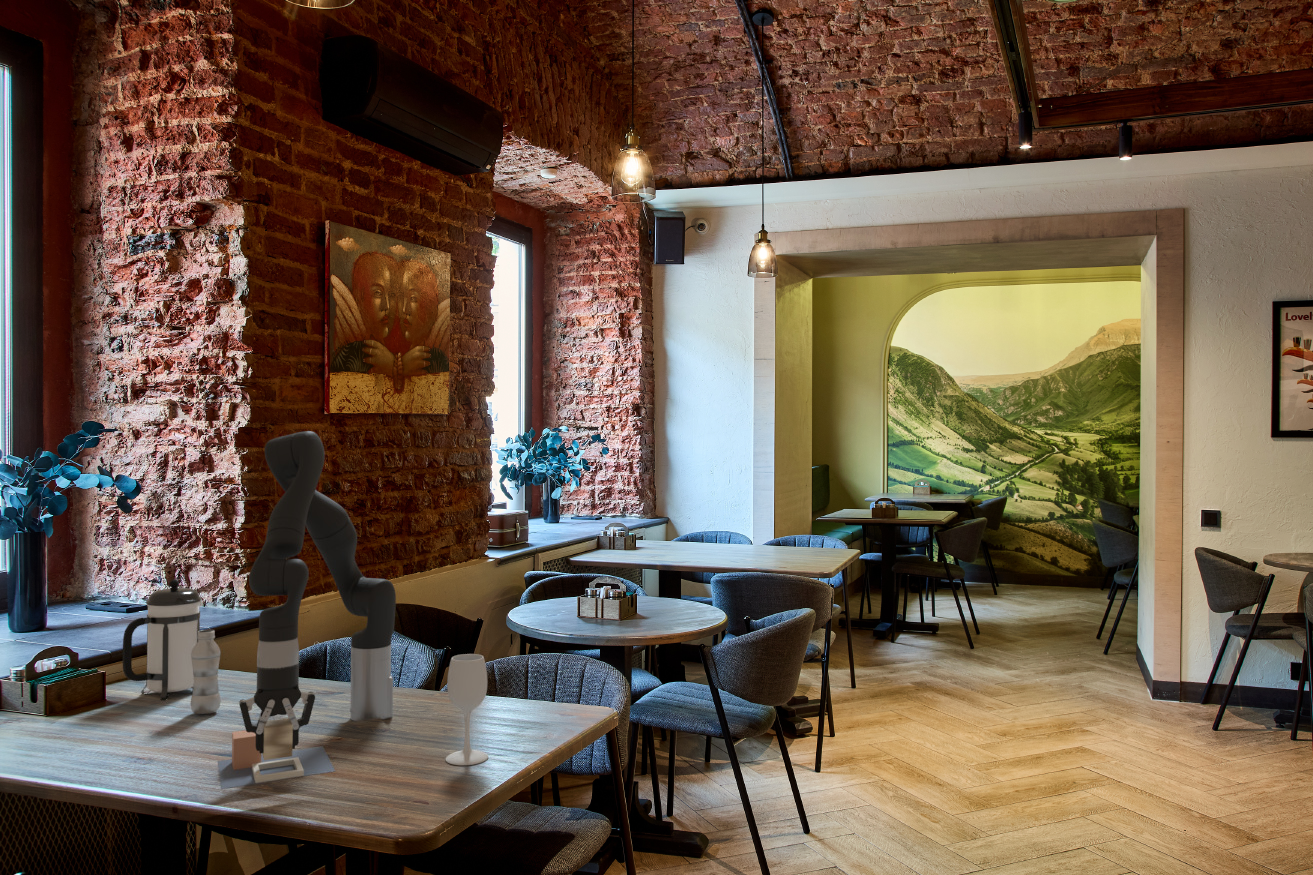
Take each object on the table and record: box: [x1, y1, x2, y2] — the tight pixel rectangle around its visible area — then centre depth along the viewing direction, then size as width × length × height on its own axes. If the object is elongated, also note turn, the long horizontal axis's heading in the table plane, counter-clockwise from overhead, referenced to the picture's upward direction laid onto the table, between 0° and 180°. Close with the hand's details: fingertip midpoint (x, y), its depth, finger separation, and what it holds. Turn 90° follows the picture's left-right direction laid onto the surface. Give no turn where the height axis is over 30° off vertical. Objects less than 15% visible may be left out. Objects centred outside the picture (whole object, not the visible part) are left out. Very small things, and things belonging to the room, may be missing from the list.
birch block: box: [261, 718, 293, 760], centre depth 175 cm, size 5×5×6 cm
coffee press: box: [122, 579, 204, 701], centre depth 238 cm, size 17×16×30 cm
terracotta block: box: [231, 729, 262, 770], centre depth 180 cm, size 5×5×6 cm
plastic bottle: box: [189, 629, 222, 715], centre depth 220 cm, size 6×7×20 cm
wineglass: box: [445, 653, 489, 766], centre depth 188 cm, size 9×9×21 cm
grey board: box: [217, 746, 336, 790], centre depth 179 cm, size 20×17×2 cm
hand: (276, 749), depth 175 cm, fingers closed on birch block, 5 cm apart
